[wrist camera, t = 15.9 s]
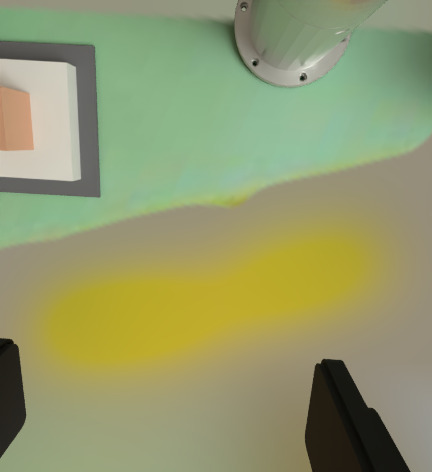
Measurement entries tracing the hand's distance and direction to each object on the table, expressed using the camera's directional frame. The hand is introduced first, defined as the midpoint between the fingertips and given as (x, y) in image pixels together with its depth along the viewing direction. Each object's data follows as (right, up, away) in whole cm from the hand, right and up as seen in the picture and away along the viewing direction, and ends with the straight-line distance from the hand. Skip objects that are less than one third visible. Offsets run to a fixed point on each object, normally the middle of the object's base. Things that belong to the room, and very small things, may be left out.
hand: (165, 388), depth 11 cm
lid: (-21, +18, +30) cm, 41 cm away
